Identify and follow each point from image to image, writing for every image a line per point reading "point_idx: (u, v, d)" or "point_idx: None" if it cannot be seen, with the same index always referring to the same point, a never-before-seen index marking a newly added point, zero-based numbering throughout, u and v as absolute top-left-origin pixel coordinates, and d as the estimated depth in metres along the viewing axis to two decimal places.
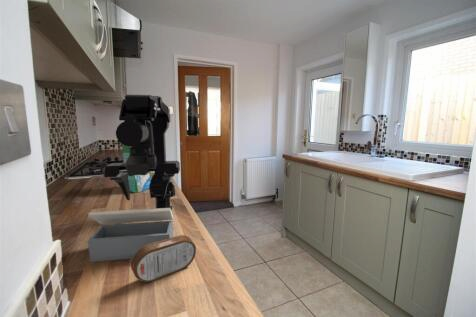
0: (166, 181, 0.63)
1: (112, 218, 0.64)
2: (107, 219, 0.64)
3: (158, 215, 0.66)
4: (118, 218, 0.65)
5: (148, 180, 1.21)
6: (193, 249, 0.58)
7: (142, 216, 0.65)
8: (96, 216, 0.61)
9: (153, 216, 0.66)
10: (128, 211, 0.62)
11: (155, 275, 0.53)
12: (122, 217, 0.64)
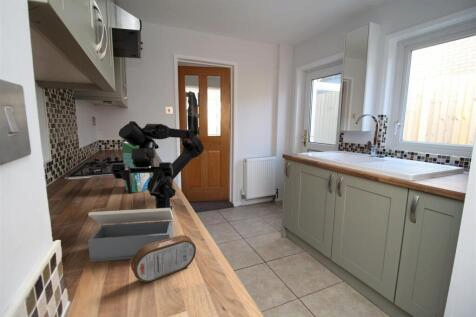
0: (156, 176, 0.75)
1: (112, 218, 0.64)
2: (107, 219, 0.64)
3: (158, 215, 0.66)
4: (118, 218, 0.65)
5: (148, 180, 1.21)
6: (193, 249, 0.58)
7: (142, 216, 0.65)
8: (96, 216, 0.61)
9: (153, 216, 0.66)
10: (128, 211, 0.62)
11: (155, 275, 0.53)
12: (122, 217, 0.64)
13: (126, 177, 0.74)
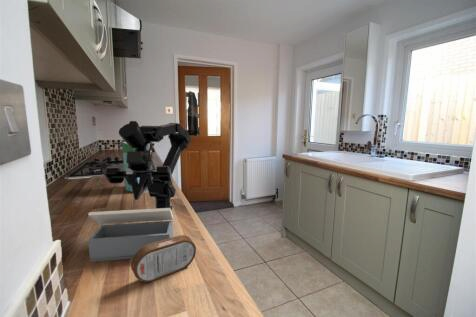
0: (142, 181, 0.70)
1: (112, 218, 0.64)
2: (107, 219, 0.64)
3: (158, 215, 0.66)
4: (118, 218, 0.65)
5: None
6: (193, 249, 0.58)
7: (142, 216, 0.65)
8: (96, 216, 0.61)
9: (153, 216, 0.66)
10: (128, 211, 0.62)
11: (155, 275, 0.53)
12: (122, 217, 0.64)
13: (132, 182, 0.69)
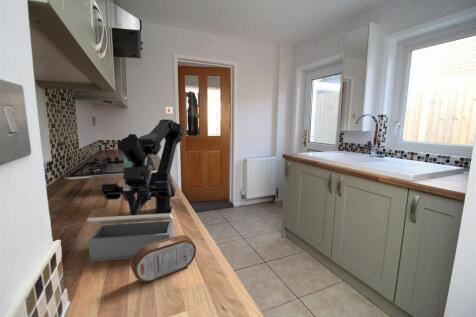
0: (140, 198, 0.67)
1: (112, 221, 0.64)
2: (107, 222, 0.64)
3: (158, 218, 0.66)
4: (118, 221, 0.64)
5: None
6: (193, 249, 0.58)
7: (142, 219, 0.65)
8: (95, 221, 0.61)
9: (153, 219, 0.66)
10: (127, 217, 0.61)
11: (155, 275, 0.53)
12: (122, 220, 0.64)
13: (129, 198, 0.66)
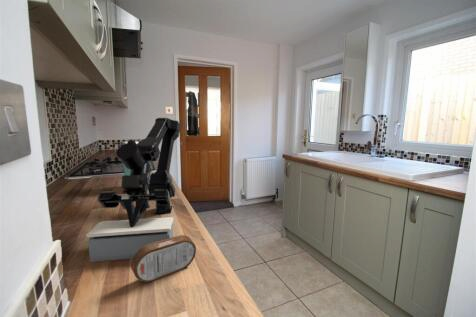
0: (138, 207, 0.65)
1: None
2: None
3: None
4: None
5: None
6: (193, 249, 0.58)
7: None
8: None
9: None
10: (127, 232, 0.60)
11: (155, 275, 0.53)
12: None
13: (127, 207, 0.64)
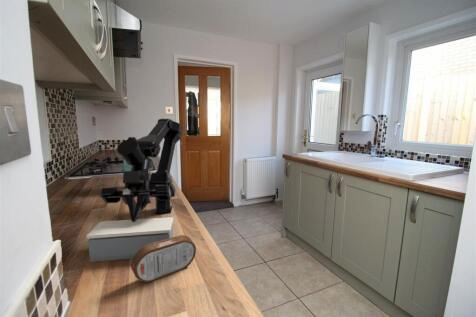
0: (140, 202, 0.66)
1: None
2: None
3: None
4: None
5: None
6: (193, 249, 0.58)
7: None
8: None
9: None
10: (127, 234, 0.60)
11: (155, 275, 0.53)
12: None
13: (129, 202, 0.66)
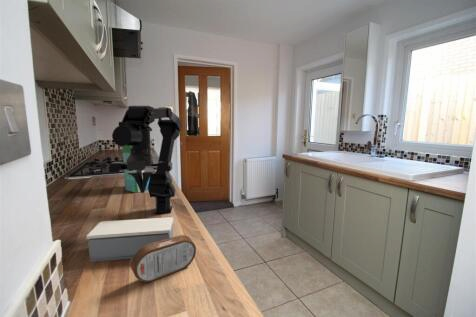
0: (145, 178, 0.75)
1: None
2: None
3: None
4: None
5: (148, 180, 1.21)
6: (193, 249, 0.58)
7: None
8: None
9: None
10: (127, 234, 0.60)
11: (155, 275, 0.53)
12: None
13: (136, 178, 0.74)
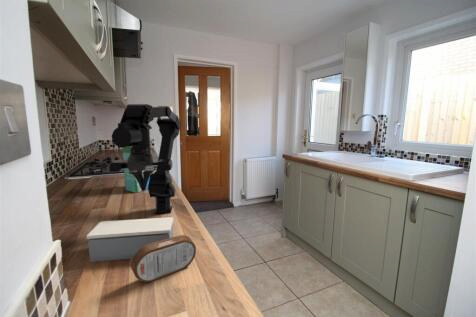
0: (146, 176, 0.75)
1: None
2: None
3: None
4: None
5: (148, 180, 1.21)
6: (193, 249, 0.58)
7: None
8: None
9: None
10: (127, 234, 0.60)
11: (155, 275, 0.53)
12: None
13: (136, 177, 0.75)
